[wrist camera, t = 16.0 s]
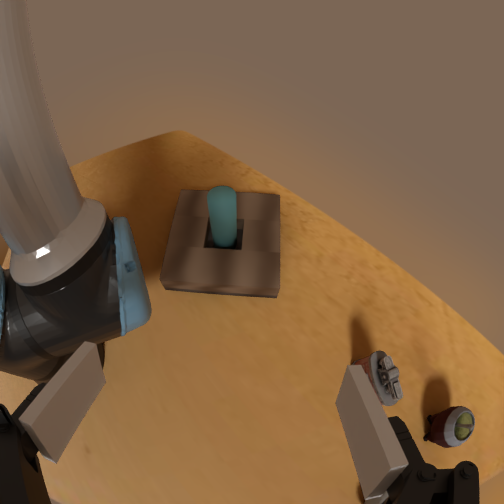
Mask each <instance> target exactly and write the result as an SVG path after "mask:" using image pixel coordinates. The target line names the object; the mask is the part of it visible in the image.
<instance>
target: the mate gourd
mask: <svg viewBox="0 0 504 504" xmlns="http://www.w3.org/2000/svg"><path fill="white" fill-rule="evenodd" d="M427 419H428V421H429V422H430V424H431V431H430V432H429V433H428V434H427V435H426V436H425V437H424V438H423V439H424V441H427V440H429V441H431V442H433V443H436V444H438V445H440V446H442V447H445V448H449V447H456V446H459V445H461V444H462V443H464V442H465V441H466V440H467V439H468V438H469V437H470V435H471V434H472V432H473V429H474V425H475V419H474V415H473V413H472V412H471V410H469V409H468V408H466V407H462V406H456V407H450V408H448V409H446V410H444V411H442V412H441V413H439V414H435V415H433V416H431V415H429V416H428V417H427Z"/></svg>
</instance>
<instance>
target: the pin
mask: <svg viewBox="0 0 504 504" xmlns="http://www.w3.org/2000/svg"><path fill="white" fill-rule="evenodd" d="M207 203H208V210H209V217H210V224H211V231H212V237H213V244H214V248H216V249H232V250H234V249H235V248H236V246H237V208H236V193H235V191H234V190H233V189H232V188H230V187H228V186H217V187H214V188H212V189H211V190H210V191H209V192H208V194H207Z"/></svg>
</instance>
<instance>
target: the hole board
mask: <svg viewBox="0 0 504 504" xmlns="http://www.w3.org/2000/svg"><path fill="white" fill-rule="evenodd" d="M208 192H209V191H207V190H181V192H180V196H179V199H178V203H177V207H176V210H175V214H174V218H173V222H172V226H171V230H170V234H169V239H168V243H167V247H166V251H165V256H164V260H163V265H162V270H161V274H160V281H161V283H162V285H163V286H164V288H165V290H174V291H185V292H196V293H208V294H221V295H235V296H250V297H267V298H277V296H278V293H279V289H280V195H275V194H262V193H246V192H235V193H236V208H237V246H236V248H235V249H234V250H232V249H216V248H214V244H213V237H212V231H211V224H210V217H209V210H208V203H207V194H208Z"/></svg>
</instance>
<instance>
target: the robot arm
mask: <svg viewBox="0 0 504 504" xmlns="http://www.w3.org/2000/svg"><path fill="white" fill-rule="evenodd" d="M0 233H1V235H2V236H3V238H4V240H5V241H6V243H7V244H8V246H9V248H10V249H11V258H10V269H6V270H5V269H3V268H2V267H1V265H0V371H3V372H6V373H10V374H13V375H16V376H20V377H23V378H27V379H31V380H34V381H35V382H36V383H37V384H39V385H38V386H36V387H35V388H34V389H33V390H32V391H31V392H30V395H28V396H27V397H26V400H25V399H24V401H23V402H22V403H21V404H20V405H19V407H18V408H17V409H16V410H15V411H14V413H13V414H12V415H10V413H9V412H8V410H7V408H6V407H5V406H4V405H3V404H0V504H51V502H50V499H49V495H48V492H47V489H46V486H45V482H44V479H43V475H42V471H41V467H40V463H39V459H38V457H37V455H36V454H37V452H38V451H40V453H41V454H42V456H43V457H44V458H46V459H48V460H50V461H52V462H54V463H56V464H57V462H58V460H59V458H60V457H61V455H62V453H63V451H64V450H65V448H66V446H67V444H68V443H69V441H70V439H71V438H72V436H73V434H74V433H75V431H76V429H77V428H78V426H79V424H80V423H81V421H82V419H83V418H84V416H85V414H86V413H87V411H88V410H89V408H90V406H91V405H92V403H93V402H94V400H95V398H96V397H97V395H98V394H99V392H100V391H101V389H102V387H103V386H104V384H105V383H106V380H105V377H104V373H103V370H102V369H103V363H104V349H103V343H102V342H105V341H108V340H111V339H114V338H117V337H119V336H124V335H126V333H127V332H129V331H132V330H134V329H136V328H138V327H140V326H142V325H144V324H146V323H147V321H148V320H149V319H150V316H151V303H150V299H149V294H148V290H147V287H146V283H145V279H144V275H143V271H142V268H141V264H140V260H139V257H138V253H137V249H136V245H135V242H134V238H133V235H132V231H131V228H130V225H129V223H128V220H127V218H125V217H113V219H112V220H110V219H109V217H108V215H107V213H106V210H105V208H104V207H103V205H102V204H101V203H100V202H99V201H96V200H93V199H89V198H85V197H82V196H81V194H80V191H79V189H78V187H77V184H76V182H75V180H74V177H73V175H72V173H71V170H70V168H69V165H68V163H67V160H66V158H65V155H64V153H63V150H62V147H61V144H60V142H59V139H58V136H57V133H56V130H55V127H54V124H53V121H52V118H51V115H50V112H49V109H48V105H47V102H46V99H45V95H44V92H43V88H42V84H41V80H40V76H39V72H38V68H37V63H36V59H35V54H34V50H33V44H32V38H31V32H30V25H29V19H28V10H27V0H0ZM336 406H337V409H338V412H339V416H340V419H341V422H342V425H343V428H344V431H345V435H346V438H347V441H348V444H349V448H350V451H351V454H352V458H353V461H354V464H355V468H356V471H357V474H358V478H359V481H360V485H361V488H362V492H363V495H364V499H365V500H367V499H372V498H376V497H380V496H382V495H383V494H384V493H385V491H386V490H387V493H388V497H387V498H386V499H385V500H384V501H383V502H382V504H479V472H478V468H477V467H476V465H475V464H474V463H472V462H470V461H462V462H460V463H459V464H457V466H456V467H455V468H454V469H437V468H436V467H435V466H433V465H431V464H428V463H425V461H424V460H423V458H422V456H421V454H420V452H419V450H418V448H417V446H416V444H415V442H414V440H413V439H412V436H411V434H410V432H409V430H408V428H407V426H406V424H405V423H404V422H403V421H402V420H401V419H400V418H399V417H398V416H395V417H389V418H387V416H386V414H385V412H384V410H383V408H382V406H381V404H380V402H379V399H378V397H377V395H376V393H375V391H374V389H373V387H372V385H371V383H370V382H369V380H368V378H367V376H366V374H365V372H364V370H363V368H362V366H361V365H347V369H346V372H345V375H344V378H343V382H342V385H341V388H340V391H339V394H338V397H337V400H336Z"/></svg>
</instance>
